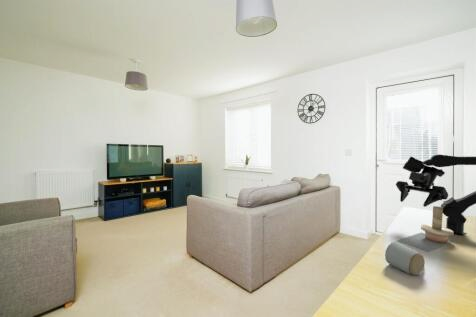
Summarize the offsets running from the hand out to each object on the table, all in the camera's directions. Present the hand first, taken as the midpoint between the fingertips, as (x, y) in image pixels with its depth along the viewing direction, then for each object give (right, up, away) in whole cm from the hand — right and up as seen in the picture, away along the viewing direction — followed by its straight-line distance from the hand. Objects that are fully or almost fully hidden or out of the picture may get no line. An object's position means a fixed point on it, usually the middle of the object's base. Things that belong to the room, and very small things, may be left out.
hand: (412, 203), depth 101 cm
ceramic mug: (-24, -15, -28) cm, 40 cm away
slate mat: (-2, -14, -9) cm, 17 cm away
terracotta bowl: (+4, -13, -8) cm, 16 cm away
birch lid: (+4, -10, -8) cm, 13 cm away
